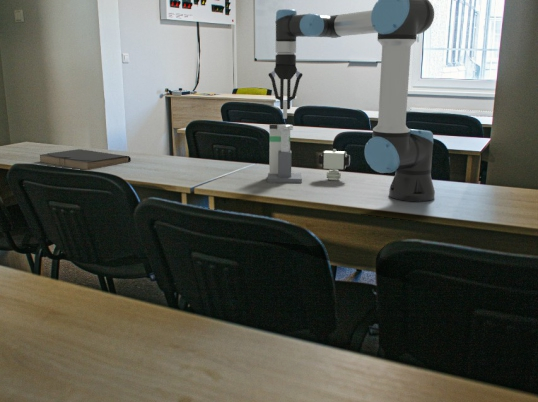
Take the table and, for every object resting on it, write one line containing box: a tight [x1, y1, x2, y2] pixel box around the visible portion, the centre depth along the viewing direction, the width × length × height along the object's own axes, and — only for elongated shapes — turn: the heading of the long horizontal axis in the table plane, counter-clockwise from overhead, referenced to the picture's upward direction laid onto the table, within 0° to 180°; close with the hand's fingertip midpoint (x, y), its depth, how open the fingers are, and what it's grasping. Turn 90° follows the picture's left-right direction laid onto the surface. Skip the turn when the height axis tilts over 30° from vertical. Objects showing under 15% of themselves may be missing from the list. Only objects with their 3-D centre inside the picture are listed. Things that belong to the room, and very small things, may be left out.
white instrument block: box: [269, 123, 294, 152], centre depth 220 cm, size 9×6×11 cm
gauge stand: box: [266, 129, 303, 184], centre depth 221 cm, size 13×11×20 cm
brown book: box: [39, 148, 132, 171], centre depth 259 cm, size 33×4×24 cm
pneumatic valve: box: [317, 148, 351, 182], centre depth 223 cm, size 6×12×12 cm, turn 78°
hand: (284, 118), depth 218 cm, fingers closed
